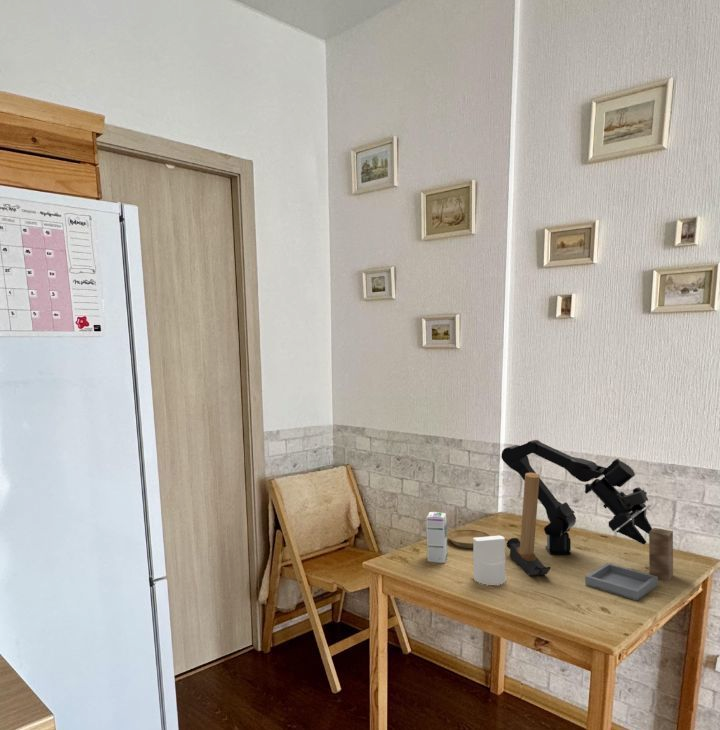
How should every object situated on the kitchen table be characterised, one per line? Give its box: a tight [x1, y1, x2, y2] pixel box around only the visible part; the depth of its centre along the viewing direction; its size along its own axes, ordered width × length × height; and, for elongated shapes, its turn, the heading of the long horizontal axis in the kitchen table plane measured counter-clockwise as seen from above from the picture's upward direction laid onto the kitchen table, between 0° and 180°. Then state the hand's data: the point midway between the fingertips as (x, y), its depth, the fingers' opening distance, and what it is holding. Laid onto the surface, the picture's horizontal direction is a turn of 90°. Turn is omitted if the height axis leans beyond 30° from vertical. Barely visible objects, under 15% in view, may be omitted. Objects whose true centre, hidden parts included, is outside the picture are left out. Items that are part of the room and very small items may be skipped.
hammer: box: [506, 473, 552, 576], centre depth 164 cm, size 20×5×30 cm, turn 7°
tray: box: [584, 562, 659, 602], centre depth 152 cm, size 14×14×2 cm
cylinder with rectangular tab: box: [472, 535, 506, 586], centre depth 158 cm, size 9×9×12 cm
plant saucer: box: [447, 528, 491, 549], centre depth 189 cm, size 15×15×3 cm
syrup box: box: [425, 511, 448, 564], centre depth 173 cm, size 6×6×14 cm
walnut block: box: [648, 527, 674, 582], centre depth 158 cm, size 5×5×13 cm
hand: (649, 539), depth 160 cm, fingers open, 9 cm apart
